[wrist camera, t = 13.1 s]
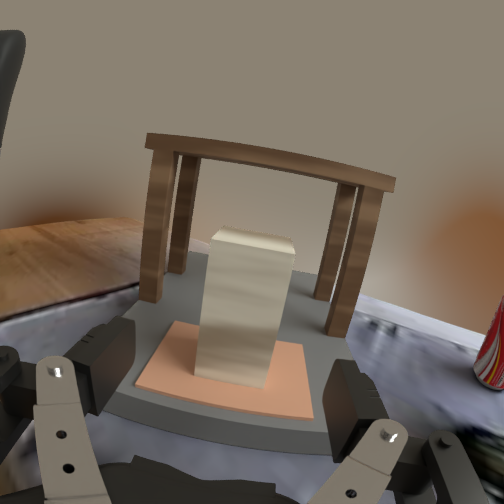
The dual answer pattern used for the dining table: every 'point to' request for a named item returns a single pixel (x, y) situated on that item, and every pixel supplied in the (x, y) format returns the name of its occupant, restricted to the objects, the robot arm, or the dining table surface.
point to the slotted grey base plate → (225, 394)
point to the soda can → (492, 353)
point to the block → (242, 305)
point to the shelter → (197, 148)
